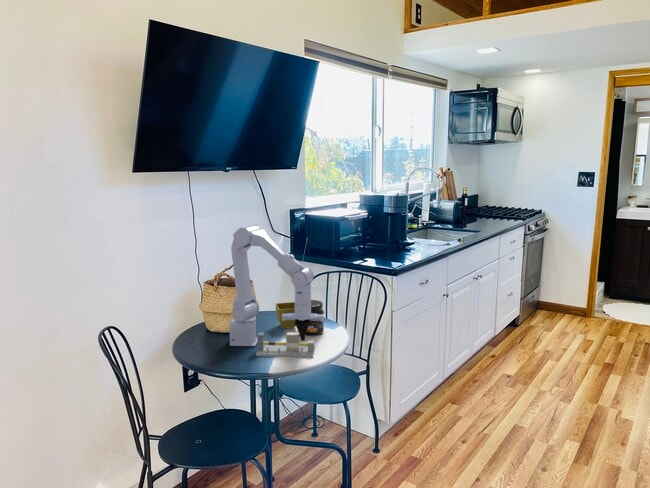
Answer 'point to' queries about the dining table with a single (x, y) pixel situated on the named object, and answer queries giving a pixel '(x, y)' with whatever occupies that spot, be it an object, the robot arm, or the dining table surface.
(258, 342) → the slider rail
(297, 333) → the sleeve
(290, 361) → the dining table surface
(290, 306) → the flower pot
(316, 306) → the supplement container
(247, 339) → the robot arm
